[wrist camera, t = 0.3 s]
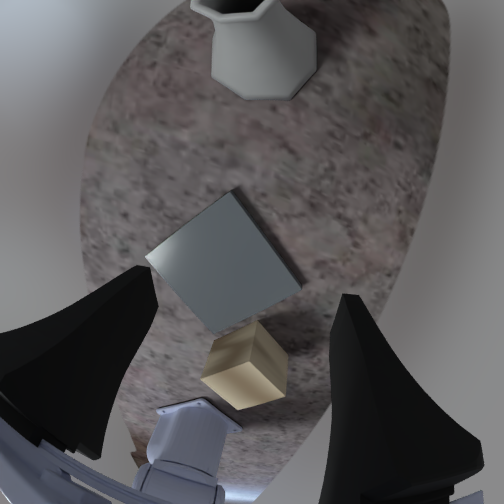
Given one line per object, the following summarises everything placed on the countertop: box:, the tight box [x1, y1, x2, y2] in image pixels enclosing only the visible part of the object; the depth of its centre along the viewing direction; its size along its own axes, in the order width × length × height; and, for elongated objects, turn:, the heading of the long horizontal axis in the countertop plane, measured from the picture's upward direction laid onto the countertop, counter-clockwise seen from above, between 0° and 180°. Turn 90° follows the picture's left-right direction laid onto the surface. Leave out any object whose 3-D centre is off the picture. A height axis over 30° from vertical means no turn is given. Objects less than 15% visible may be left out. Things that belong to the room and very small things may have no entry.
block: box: [200, 320, 288, 410], centre depth 23 cm, size 5×5×5 cm
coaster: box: [145, 190, 302, 334], centre depth 22 cm, size 9×9×1 cm
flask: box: [190, 0, 317, 101], centre depth 10 cm, size 7×7×10 cm
